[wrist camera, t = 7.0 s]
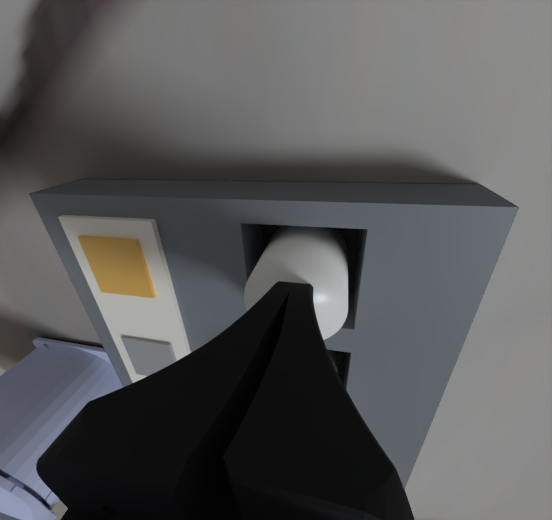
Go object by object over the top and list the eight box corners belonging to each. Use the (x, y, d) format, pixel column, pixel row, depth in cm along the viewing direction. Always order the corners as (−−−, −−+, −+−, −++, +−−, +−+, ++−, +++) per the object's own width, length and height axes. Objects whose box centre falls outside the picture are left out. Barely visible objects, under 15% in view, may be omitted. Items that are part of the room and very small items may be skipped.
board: (164, 398, 25) (140, 438, 22) (81, 179, 16) (18, 196, 13) (395, 446, 21) (403, 502, 18) (480, 184, 11) (527, 212, 8)
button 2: (270, 284, 15) (248, 336, 12) (266, 216, 13) (238, 255, 10) (344, 291, 14) (343, 349, 11) (351, 219, 12) (353, 263, 9)
